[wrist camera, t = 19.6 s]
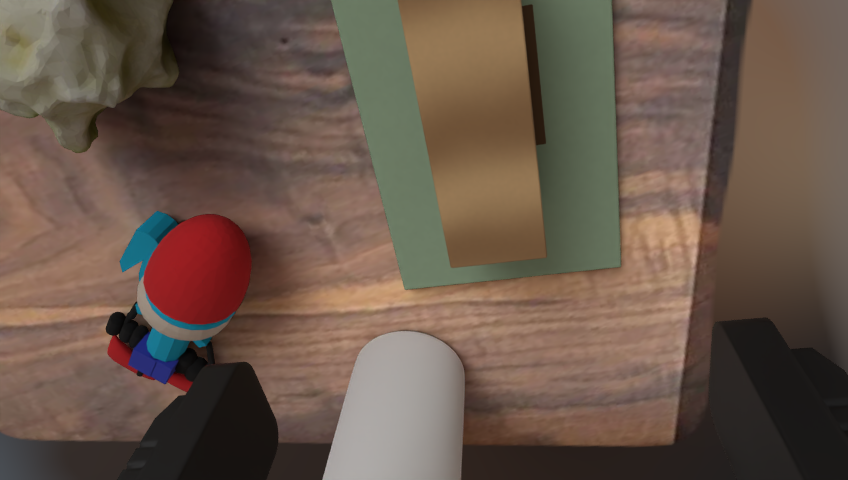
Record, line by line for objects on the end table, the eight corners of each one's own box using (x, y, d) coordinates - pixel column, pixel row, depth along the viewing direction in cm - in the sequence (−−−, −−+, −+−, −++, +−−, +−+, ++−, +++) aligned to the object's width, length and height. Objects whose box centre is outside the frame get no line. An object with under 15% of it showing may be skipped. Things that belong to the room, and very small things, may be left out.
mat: (294, -158, 22) (289, -159, 21) (601, -234, 20) (604, -238, 20) (406, 283, 32) (404, 290, 31) (619, 260, 30) (621, 267, 29)
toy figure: (226, 379, 39) (309, 236, 29) (184, 443, 35) (263, 302, 26) (121, 320, 38) (173, 153, 29) (66, 379, 34) (104, 209, 25)
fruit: (109, -163, 24) (15, -181, 17) (242, 53, 28) (211, 107, 21) (-78, -54, 25) (-239, -30, 18) (80, 136, 29) (2, 213, 23)
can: (365, 409, 37) (318, 611, 27) (346, 327, 34) (285, 521, 23) (469, 407, 36) (462, 616, 26) (460, 323, 33) (449, 524, 23)
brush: (405, -55, 23) (388, -42, 19) (509, -76, 22) (514, -68, 18) (455, 217, 29) (450, 269, 25) (539, 207, 28) (547, 258, 24)
